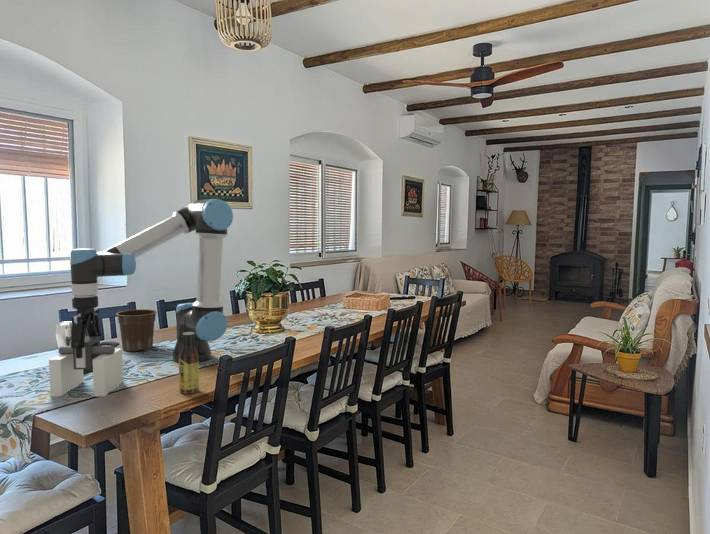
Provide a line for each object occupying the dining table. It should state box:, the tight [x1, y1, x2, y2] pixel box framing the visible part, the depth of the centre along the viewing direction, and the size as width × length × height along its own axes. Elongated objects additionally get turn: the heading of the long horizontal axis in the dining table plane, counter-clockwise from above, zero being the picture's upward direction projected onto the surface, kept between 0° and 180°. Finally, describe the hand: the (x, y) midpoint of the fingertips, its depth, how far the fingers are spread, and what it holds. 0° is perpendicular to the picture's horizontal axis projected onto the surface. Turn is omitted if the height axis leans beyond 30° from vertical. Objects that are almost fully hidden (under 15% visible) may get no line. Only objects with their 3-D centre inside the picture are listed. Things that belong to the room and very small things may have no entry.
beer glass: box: [55, 320, 72, 348], centre depth 198 cm, size 7×7×15 cm
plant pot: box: [116, 309, 158, 352], centre depth 217 cm, size 16×16×16 cm
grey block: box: [73, 335, 101, 369], centre depth 164 cm, size 5×8×9 cm, turn 3°
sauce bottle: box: [178, 332, 200, 395], centre depth 163 cm, size 7×6×20 cm
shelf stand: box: [48, 346, 124, 397], centre depth 165 cm, size 17×14×14 cm
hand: (87, 363), depth 164 cm, fingers closed on grey block, 8 cm apart
